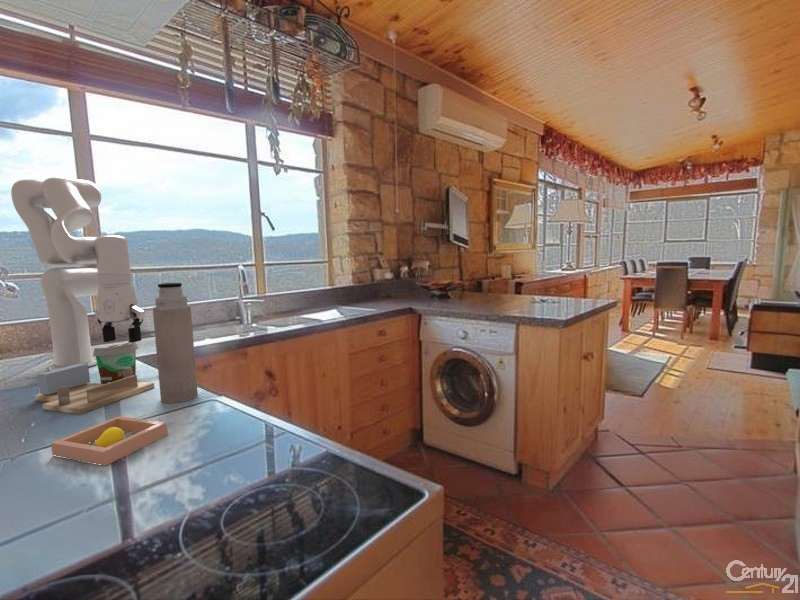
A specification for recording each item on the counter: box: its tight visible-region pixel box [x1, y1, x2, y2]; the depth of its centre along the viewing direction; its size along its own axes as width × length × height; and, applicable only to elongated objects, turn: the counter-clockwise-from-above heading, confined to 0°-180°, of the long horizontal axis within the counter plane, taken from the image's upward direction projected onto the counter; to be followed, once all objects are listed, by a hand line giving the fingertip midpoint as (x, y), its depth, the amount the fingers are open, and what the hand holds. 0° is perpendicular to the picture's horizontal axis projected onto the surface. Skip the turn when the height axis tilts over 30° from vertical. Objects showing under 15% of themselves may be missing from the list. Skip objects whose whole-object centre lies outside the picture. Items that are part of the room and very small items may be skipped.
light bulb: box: [91, 427, 125, 448], centre depth 76 cm, size 3×6×4 cm, turn 141°
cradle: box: [34, 367, 155, 415], centre depth 104 cm, size 21×19×5 cm
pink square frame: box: [50, 415, 169, 466], centre depth 77 cm, size 12×12×2 cm
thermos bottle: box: [152, 282, 199, 404], centre depth 101 cm, size 8×8×28 cm
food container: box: [92, 340, 139, 383], centre depth 119 cm, size 12×6×10 cm, turn 168°
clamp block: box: [37, 363, 91, 395], centre depth 107 cm, size 3×10×5 cm, turn 162°
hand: (122, 341), depth 118 cm, fingers open, 9 cm apart
